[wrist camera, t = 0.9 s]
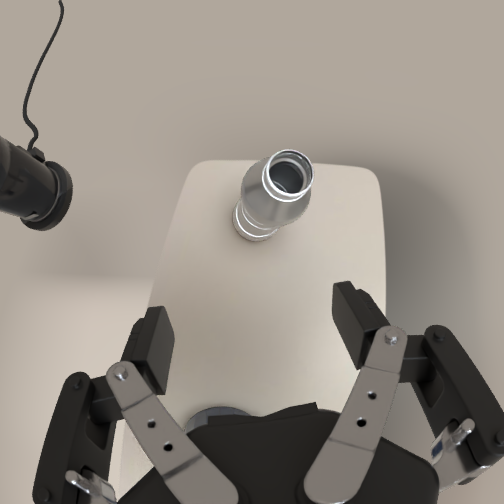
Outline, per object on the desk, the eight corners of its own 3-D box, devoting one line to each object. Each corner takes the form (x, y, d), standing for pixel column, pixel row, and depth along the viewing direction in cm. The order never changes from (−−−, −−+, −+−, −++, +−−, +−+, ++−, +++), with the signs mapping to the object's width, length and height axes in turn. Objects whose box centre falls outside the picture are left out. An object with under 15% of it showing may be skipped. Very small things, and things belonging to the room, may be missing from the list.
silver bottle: (222, 227, 39) (227, 186, 19) (247, 187, 40) (274, 117, 20) (262, 251, 39) (306, 235, 19) (286, 211, 40) (345, 162, 20)
